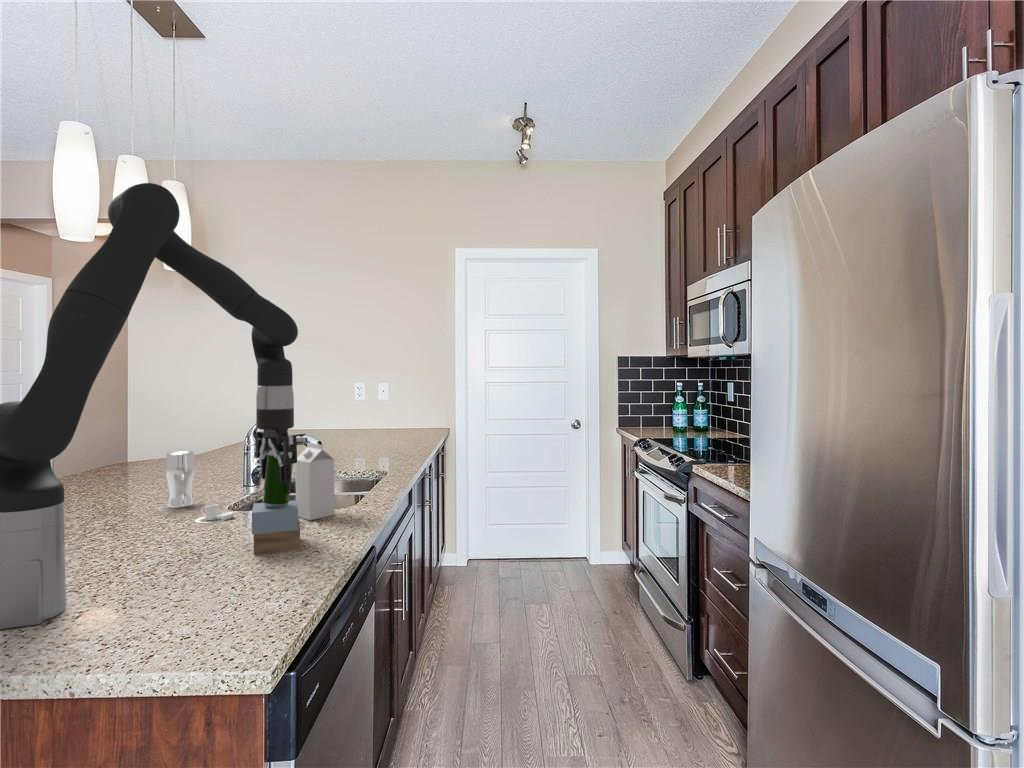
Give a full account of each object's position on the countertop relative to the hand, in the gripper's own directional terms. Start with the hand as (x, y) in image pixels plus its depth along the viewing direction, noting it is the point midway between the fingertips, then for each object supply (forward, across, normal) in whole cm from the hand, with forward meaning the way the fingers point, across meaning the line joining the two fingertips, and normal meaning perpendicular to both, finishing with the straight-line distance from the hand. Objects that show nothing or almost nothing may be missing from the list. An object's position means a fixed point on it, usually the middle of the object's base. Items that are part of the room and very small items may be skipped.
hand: (275, 481), depth 122 cm
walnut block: (+14, 0, 0) cm, 15 cm away
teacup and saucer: (+15, +31, +1) cm, 34 cm away
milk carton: (+14, +17, -19) cm, 29 cm away
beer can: (+5, 0, 0) cm, 5 cm away
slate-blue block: (+10, 0, 0) cm, 10 cm away
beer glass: (+14, +56, 0) cm, 58 cm away
